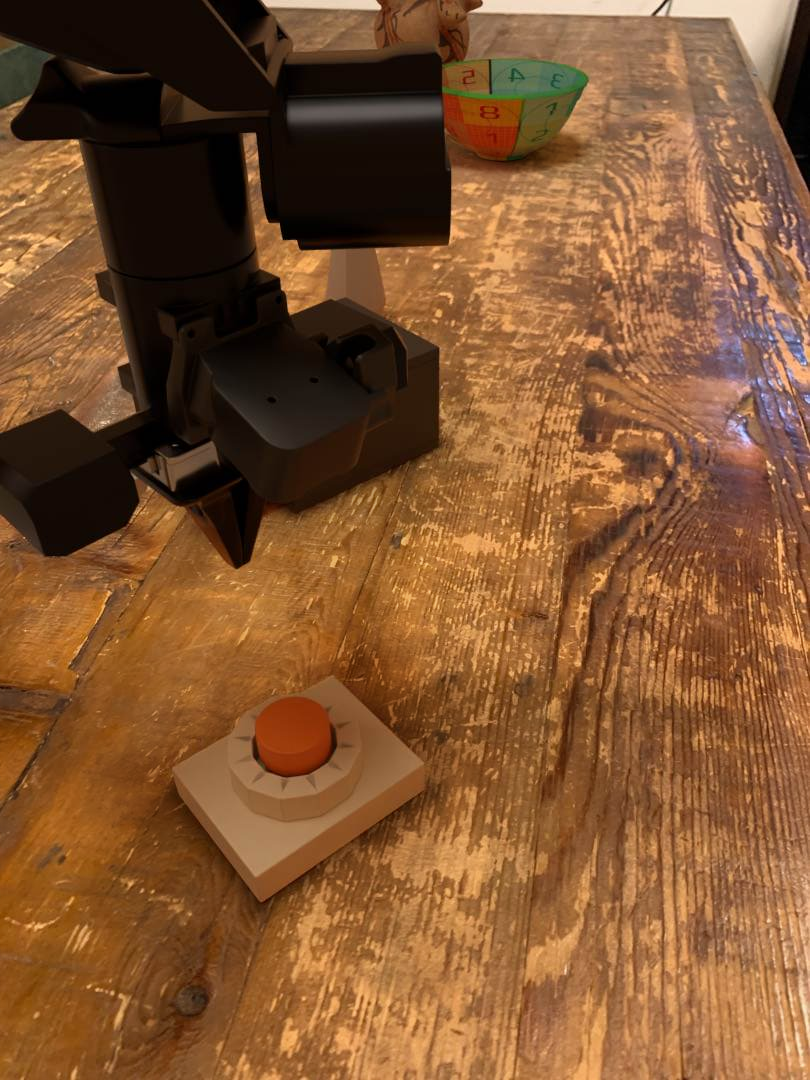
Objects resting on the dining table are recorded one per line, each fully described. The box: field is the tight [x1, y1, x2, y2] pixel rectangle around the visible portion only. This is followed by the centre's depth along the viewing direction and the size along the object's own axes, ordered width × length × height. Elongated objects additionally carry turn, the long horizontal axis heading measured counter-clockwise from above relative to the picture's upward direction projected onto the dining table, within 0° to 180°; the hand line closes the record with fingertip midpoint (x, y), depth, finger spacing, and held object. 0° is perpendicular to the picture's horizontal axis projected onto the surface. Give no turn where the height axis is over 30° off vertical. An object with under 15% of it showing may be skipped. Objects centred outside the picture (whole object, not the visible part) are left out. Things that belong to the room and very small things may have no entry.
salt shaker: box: [324, 248, 387, 316], centre depth 88 cm, size 6×6×13 cm
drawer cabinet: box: [282, 297, 441, 514], centre depth 72 cm, size 14×12×9 cm
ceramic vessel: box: [373, 0, 484, 66], centre depth 156 cm, size 18×19×25 cm
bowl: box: [442, 57, 590, 162], centre depth 130 cm, size 22×22×10 cm
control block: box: [171, 674, 425, 903], centre depth 48 cm, size 10×8×4 cm
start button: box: [255, 697, 332, 776], centre depth 46 cm, size 4×4×2 cm
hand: (237, 562), depth 46 cm, fingers closed
